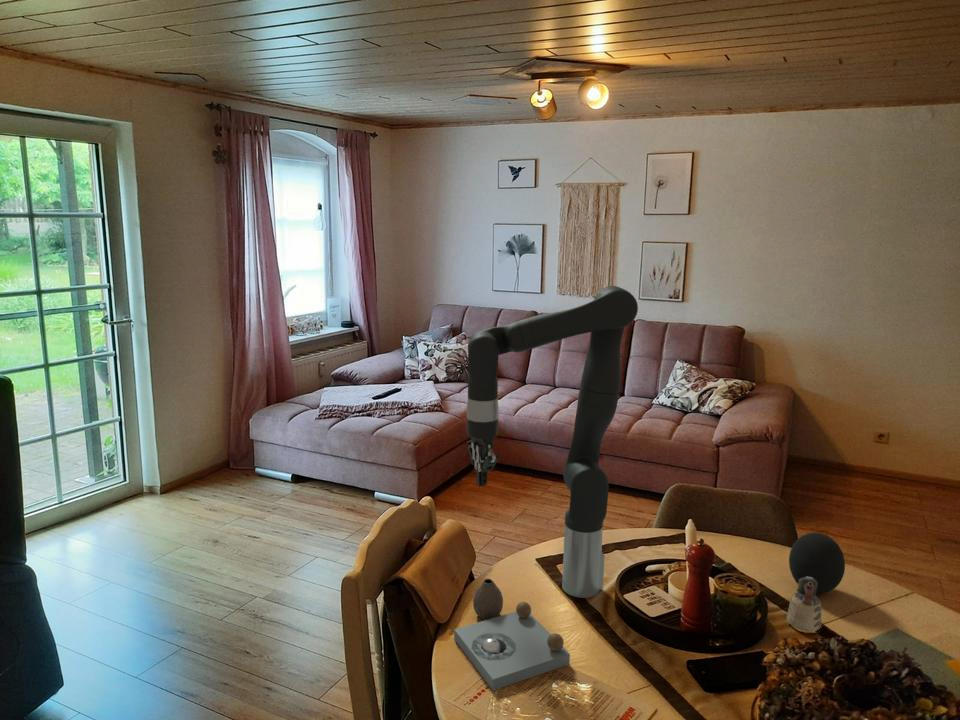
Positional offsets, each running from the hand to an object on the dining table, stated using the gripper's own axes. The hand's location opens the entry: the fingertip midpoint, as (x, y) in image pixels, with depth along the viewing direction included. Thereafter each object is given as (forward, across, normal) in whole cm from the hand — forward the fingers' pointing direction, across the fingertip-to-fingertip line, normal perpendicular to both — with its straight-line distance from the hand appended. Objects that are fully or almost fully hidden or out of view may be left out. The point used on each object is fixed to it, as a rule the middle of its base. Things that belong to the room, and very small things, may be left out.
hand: (481, 484), depth 163 cm
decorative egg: (+27, -38, -74) cm, 88 cm away
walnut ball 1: (+23, -20, -1) cm, 30 cm away
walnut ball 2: (+23, -32, -1) cm, 40 cm away
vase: (+27, -12, +4) cm, 30 cm away
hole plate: (+27, -26, +6) cm, 38 cm away
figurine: (+27, -47, -59) cm, 80 cm away
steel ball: (+25, -26, +10) cm, 37 cm away
